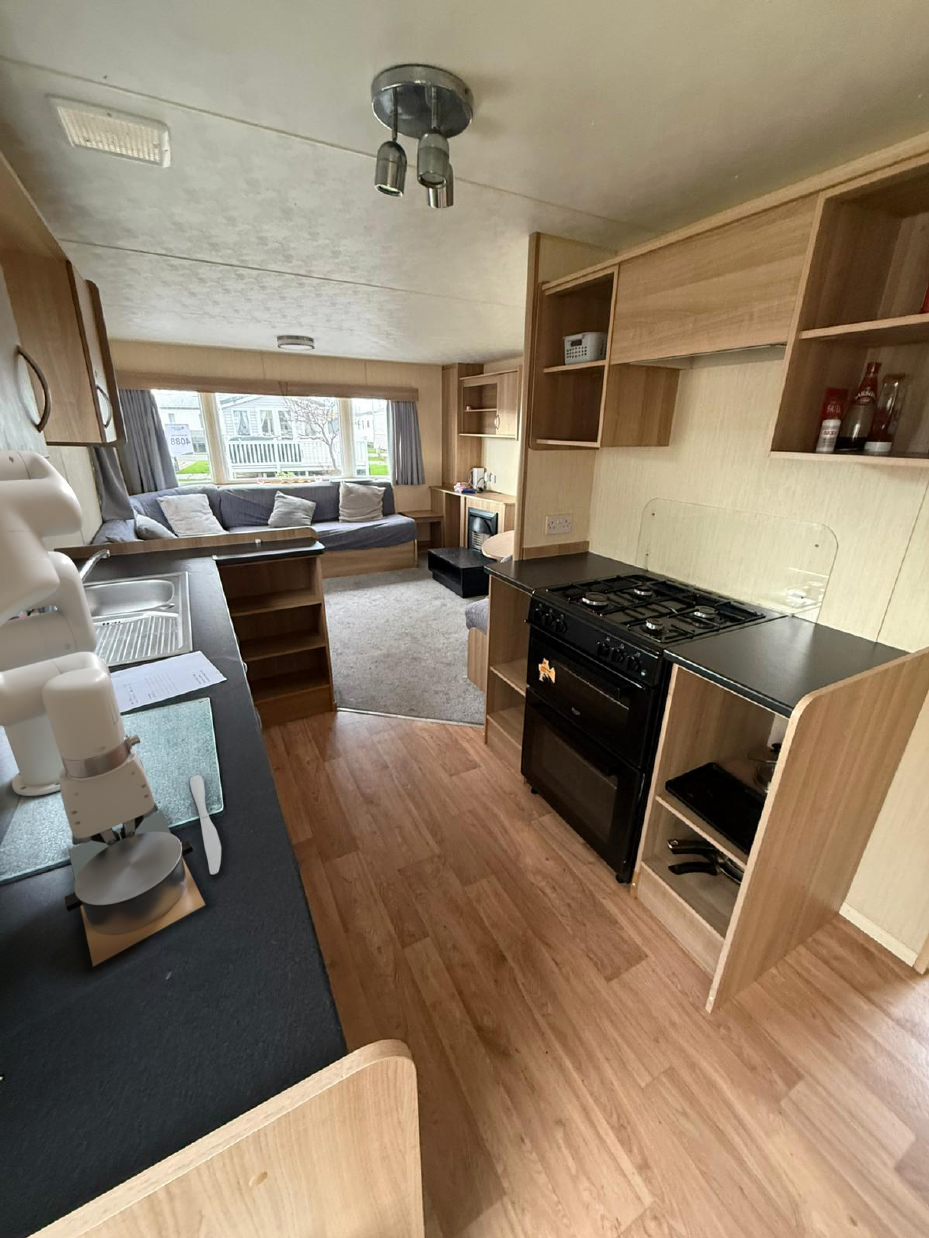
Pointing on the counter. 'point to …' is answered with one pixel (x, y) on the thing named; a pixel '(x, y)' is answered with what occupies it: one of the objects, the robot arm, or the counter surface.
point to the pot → (131, 882)
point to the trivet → (113, 944)
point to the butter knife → (206, 826)
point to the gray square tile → (91, 848)
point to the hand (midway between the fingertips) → (126, 856)
